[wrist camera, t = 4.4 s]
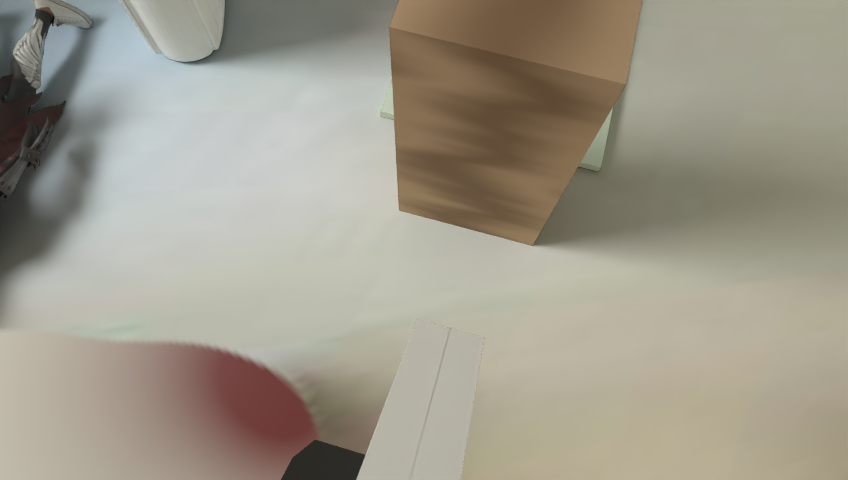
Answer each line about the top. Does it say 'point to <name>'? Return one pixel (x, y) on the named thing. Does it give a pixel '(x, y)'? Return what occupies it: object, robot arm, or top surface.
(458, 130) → the walnut block
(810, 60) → the top surface
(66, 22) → the action figure
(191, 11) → the photo printer
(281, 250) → the top surface
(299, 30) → the top surface
